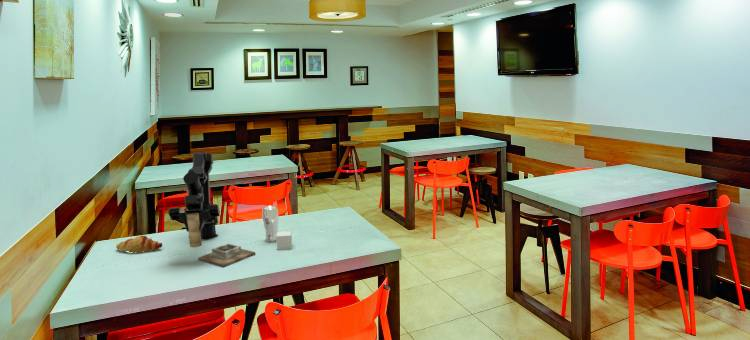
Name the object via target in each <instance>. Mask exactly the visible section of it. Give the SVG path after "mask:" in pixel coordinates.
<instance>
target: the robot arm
mask: <svg viewBox="0 0 750 340" xmlns="http://www.w3.org/2000/svg"><path fill="white" fill-rule="evenodd" d="M192 163H193V164H192V168H190V169H189V170H188V171H187V173H186V174H184V176H183V178H182V179H183V182H184V184H185V188H186V189H187V195H184V205H185V208H186V209H185V208H182V209H181V208H180V207H170V208H169V209H168V216H169V218H170V220H171V221H180V222H183V224H184V226H185V230H186V232H187V233H189V232H188V222H187V214H189V213H199V222H200V226H199V230H200V232H201V239H204V240H209V239H212V238H215V237H218V236H219V234H217V231H216V225H217V224H219V220H218V217H219V216H220V215H221V213H220V207H219V205H218V204H216V203H214V204H213V203H212V204H211V193H210V191H211V189H210V173H211V171H212V170H213V165H214V157H213V155H212V154H211V153H208V152H206V151H196V152H194V154H193V155H192Z"/></svg>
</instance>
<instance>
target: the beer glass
mask: <svg viewBox="0 0 750 340" xmlns="http://www.w3.org/2000/svg"><path fill="white" fill-rule="evenodd" d="M261 212H262V215H261V216H262V223H263V227H264V230H265V242H266V243H267V242H269V243H272V242H277V240H276V236H277V232H279V231H278V230H279V229H278V228H279V226H278V225H279V211H278V206H277V205H267V206H263V207H262V211H261Z"/></svg>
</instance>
